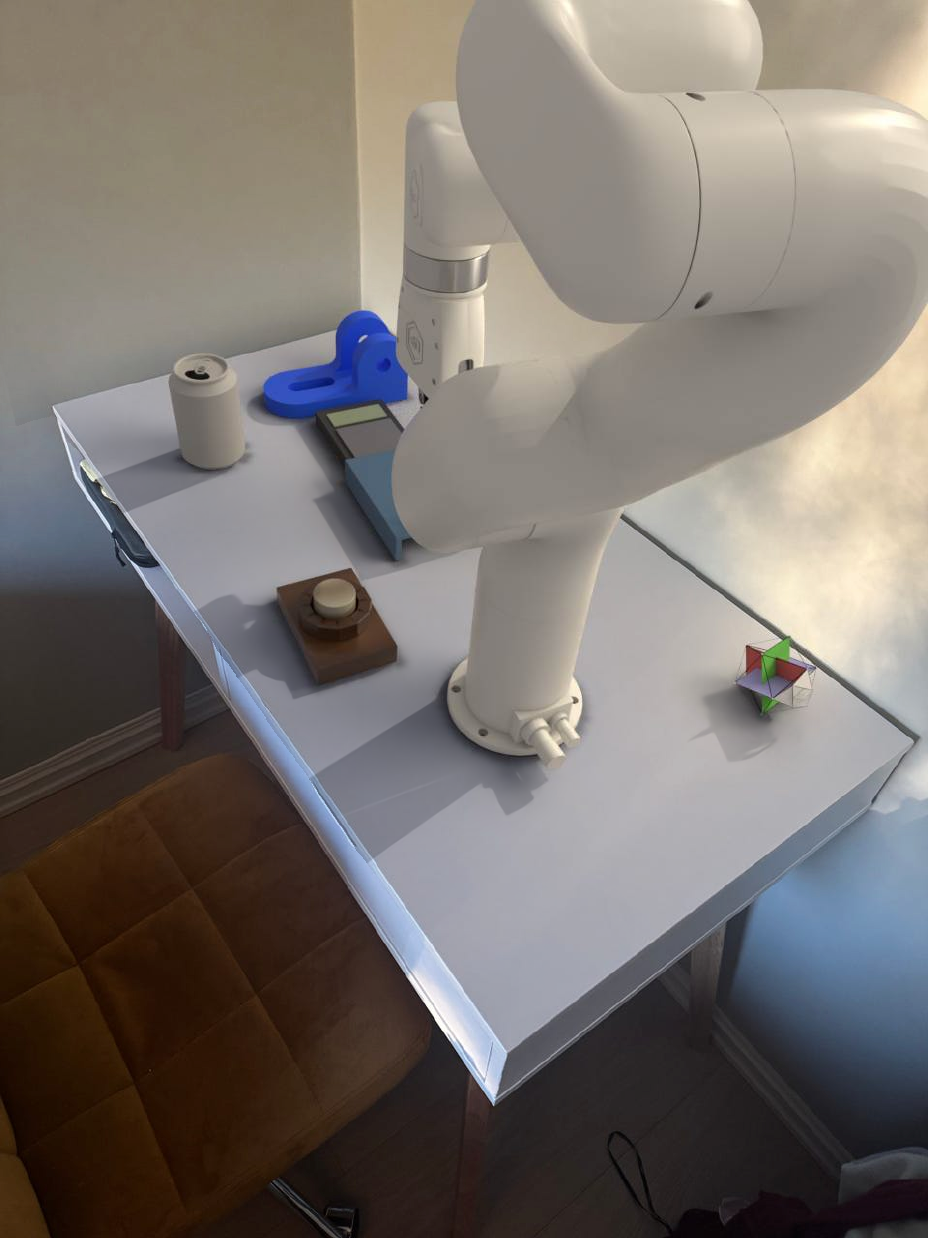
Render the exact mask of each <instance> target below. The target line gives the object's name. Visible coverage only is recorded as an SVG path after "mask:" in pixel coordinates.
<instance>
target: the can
mask: <svg viewBox="0 0 928 1238" xmlns="http://www.w3.org/2000/svg"><path fill="white" fill-rule="evenodd" d="M171 369H172V371H171V372H172V373H171V374H170V375H169V377H168V388H169V393H170V399H171V404H172V411H173V416H174V422H175V427H176V434H177V438H178V444H179V449H180V450H179V451H180V454H181V456H182V458H183V459H184V460H185V461H186V462H187V463H188V464H191V465H193V466H194V467H196V468H199V469H201V470H208V471H216V470H217V471H219V470H222V469H226V468H228V467H231V466H233V465H234V464H235V463H237V461H239V460H240V459H241V458H242V457H243V456H244V454H245V452H246V439H245V432H244V423H243V415H242V407H241V399H240V391H239V380H238V375H237V374H236V372H235V371H234V370H233V369H232V368H231V364H230V362H229V361H228V360H227V359H225V358H224V357H223V356H220V355H217V354H215V353H207V352H206V353H204V352H203V353H202V352H201V353H199V352H198V353H192V354H188V355H186V356H183V357H181V358H179V359H178V360H176V361H175V363H174V364H173V365H172V368H171Z"/></svg>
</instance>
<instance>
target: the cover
mask: <svg viewBox="0 0 928 1238" xmlns="http://www.w3.org/2000/svg"><path fill="white" fill-rule="evenodd" d="M395 451H396V449H393V450H389V451H384V452H379V453H375V454H370V455H366V456H361V457H357V458H352V459H348V460H345V469H344V471H345V475H344V476H345V484H346V486H347V488H348V490H350V492H351V493H352V495H353V497H354V498H355V500H356V502H357V503H358V504H359V506H360V508H361V509H362V511H363V512H364V514H365V515H366V517H367V519H368V520H369V522H370V523H371V525H372V526H373V528H374V529H375V531H376V533H377V534H378V535H379V537H380V539H381V540H382V542H383V543H384V546H385V547H386V548H387V550H388V551H389V553H390V554H391V556H392V557H393V559H394V561H395V562H396V561H399V560H402V555H403V553H402V552H403V551H402V549H403V545H402V544H403V540H408V539H411V538H412V537H411V536H410V535H409V533H408V532H407V531H406V529H405V528H404V526H403V524H402V522H401V520H400V518H399V516H398V513H397V511H396V508H395V504H394V500H393V495H392V484H391V474H392V464H393V459H394V454H395ZM412 539H413V538H412Z"/></svg>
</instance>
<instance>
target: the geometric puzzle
mask: <svg viewBox="0 0 928 1238" xmlns="http://www.w3.org/2000/svg"><path fill="white" fill-rule="evenodd" d="M791 636H792V635H791V634H789V635H787V636H786V637H784V636H783V637H781V639H782V638H784V639H782V640H781V641H779V642H778V643H776V644H774V645H773V646H772V647H770V648H769V649H765V648H761V647H757V646H752V643H750V644H745V648H744V649H745V650H744V651H743V655H742V658H741V659H743V658H744V655H745V671H744V672H743V673H742V674H741V675H740V677H736V678H735V681H734V682H733V683H734V685H737V686H739V687H740V686H741V687H743V688H746V689H748V690H750V692H751V694H752V696H753V699H754V700H755V703H756V705H757V707H758V710H759V712H760V715H761V716H763V715H765V714H767V713H766V712H769V710H770V709H772V708H774V707H775V706H776V705H778V704H779V703H780V704H783V705H785V706H787V707H790V708H791V709H792V710H793V709H796V708H800V709H801V708H805V707H806V708H807V707H808V704H809V701H810V698H811V697H812V693H813V683H814V678H813V679H812V680H811V676H810V675H812V673H816V671H817V669H818V666H816V665H812V664H810V663H806V662H805V661H804V659H803V657H802V656H801V654H800V652H799V650H798V649H800V650H802V648H800V646H799V645H796V641H795V640H794V639H793V638H792V637H791ZM778 639H780V637H779V638H776V640H778ZM773 640H775V638H773V639H772V641H773ZM768 641H770V639H769V640H767V642H768ZM790 641H792V644H793V645H794V648H795V649H796V651H797V654H798V655H799V656H800V658H801V660H798V659H796V658H793V657H791V656H790V653H791V652H790V651H791V650H790V649H791V647H790V646H791V645H790V644H791V642H790ZM765 642H766V640H764V641H762V643H765ZM759 643H761V642H760V641H759V642H758V644H759ZM755 644H756V642H754V643H753V645H755ZM797 647H798V648H797ZM803 654H804V656H807V654H806V653H805V652H803ZM808 660H809V661H810V662H811V663H813V662H812V661H811V659H810V658H808ZM742 661H743V660H741V662H740V665H739V668H738V669H740V668H741V665H742ZM739 671H740V670H738V671H737V675H736V676H738V675H739ZM815 676H816V674H814V675H813V677H815ZM737 678H738V679H737ZM811 681H812V682H811ZM740 690H741V689H740ZM741 692H742V693H744V691H742V690H741ZM753 692H754V693H757V694H760V695H761V708H760V705H759V704H758V701H757V699H756V698H755V695H754V693H753ZM747 698H748V697H747ZM748 699H749V701H751V699H750V698H748ZM753 705H754V706H755V704H753ZM755 707H756V706H755ZM757 707H756V708H757ZM790 708H789V709H788V708H787V711H788V710H790ZM782 711H783V712H784V709H783V710H781V712H782ZM777 712H778V711H776V710H775V713H777ZM771 713H773V711H772V712H769V714H771Z"/></svg>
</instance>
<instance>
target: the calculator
mask: <svg viewBox="0 0 928 1238" xmlns="http://www.w3.org/2000/svg"><path fill="white" fill-rule="evenodd" d="M314 418H315V419H314V420H315V426H316V427H317V429H318V431H319V432H320V434H321V435H322V436H323V438H324V440H325V441H326V443H327V444H328V446H329V448H330V449H331V450H332V452H333V454H334V455H335V457H336V458H337V460H338V461H339V463H340V465H342V468H343V469H344V470H345V460H348V459H352V458H357V457H361V456H366V455H370V454H375V453H379V452H384V451H389V450H393V449H396V447H397V444H398V441H399V439H400V437H401V435H402V433H403V431H404V429H405V428H404V427H403V425H402V424H401V423H400V421H399V419H398V418H397V417H396V415H394V413H393V412H392V411H391V409H390V408H389V407H388V406H387V403H384V402H383V400H382V399H376V400H371V401H366V402H361V403H356V404H351V405H346V406H341V407H336V408H331V409H326V410H321V411H316V412H315V416H314Z"/></svg>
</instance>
